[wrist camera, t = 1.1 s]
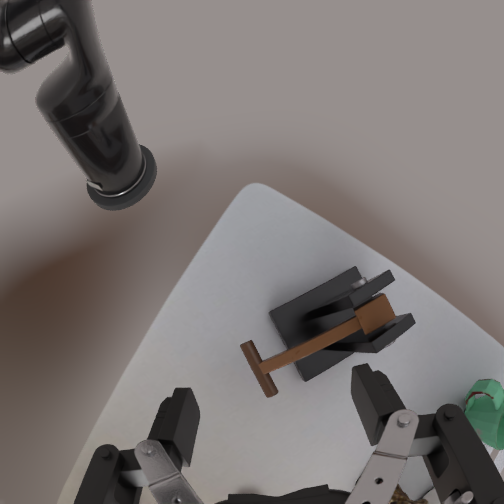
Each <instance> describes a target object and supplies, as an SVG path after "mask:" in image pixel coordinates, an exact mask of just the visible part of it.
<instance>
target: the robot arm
mask: <svg viewBox="0 0 504 504" xmlns="http://www.w3.org/2000/svg"><path fill="white" fill-rule="evenodd" d="M64 46H67V47H68V48H69V53H68V54H67V56H66V57H65V58H64V60H63V61H62V62H61V63H60V64H59V65H58V66H57V67H56V68H55V69H54V70H53V71H52V72H51V73H50V74H49V75H48V76H47V78H46V79H45V80H44V81H43V83H42V84H41V86H40V87H39V89H38V91H37V94H36V97H35V103H36V106H37V108H38V110H39V112H40V113H41V115H42V116H43V117H44V119H45V121H46V122H47V124H48V125H49V127H50V128H51V130H52V131H53V133H54V134H55V136H56V137H57V138H58V140H59V141H60V142H61V144H62V145H63V147H64V148H65V149H66V151H67V152H68V154H69V155H70V156H71V158H72V159H73V161H74V162H75V163H76V165H77V166H78V168H79V169H80V170H81V171H82V173H83V174H84V175H85V177H86V178H87V180H88V181H89V182H88V181H87V183H88V184H89V185H90V186H92V187H93V188H94V190H95V191H96V192H97V193H98V194H99V195H100V196H102V197H105V198H118V197H121V196H124V195H126V194H128V193H129V192H131V191H132V190H133V189H135V188H136V187H137V186H138V185H139V183H140V182H141V181H142V179H143V177H144V175H145V173H146V169H147V162H146V159H145V156H144V154H143V153H142V151H141V149H140V146H139V144H138V141H137V138H136V136H135V134H134V131H133V129H132V126H131V123H130V121H129V118H128V116H127V113H126V111H125V108H124V105H123V103H122V100H121V97H120V95H119V92H118V90H117V87H116V84H115V81H114V78H113V76H112V73H111V70H110V67H109V65H108V62H107V59H106V56H105V53H104V50H103V47H102V44H101V40H100V37H99V33H98V29H97V25H96V21H95V17H94V10H93V5H92V0H0V72H3V73H5V74H15V73H18V72H20V71H22V70H24V69H26V68H28V67H29V66H31V65H33V64H34V63H36V62H37V61H39V60H41V59H42V58H44V57H46V56H48V55H49V54H51V53H53V52H55V51H56V50H58V49H60V48H62V47H64ZM351 395H352V399H353V402H354V404H355V406H356V409H357V411H358V414H359V416H360V419H361V421H362V424H363V426H364V429H365V431H366V434H367V437H368V439H369V442H370V444H371V446H373V445H376V444H378V445H377V448H376V450H375V451H374V452H373V454H372V455H371V457H370V459H369V461H368V463H367V465H366V467H365V469H364V471H363V473H362V475H361V477H360V478H359V480H358V482H357V484H356V485H355V487H354V489H353V490H352V492H351V493H350V492H347V491H342V490H335V489H329V488H328V484H326V485H321V486H316V487H310V488H304V489H301V490H298V491H295V492H292V493H289V494H286V495H283V496H279V497H274V496H265V495H258V494H228V500H224V501H221V502H218V503H215V504H388V503H389V501H390V499H391V497H392V495H393V493H394V491H395V489H396V486H397V484H398V482H399V479H400V477H401V475H402V472H403V470H404V467H405V464H406V462H407V459H408V458H407V457H413V456H421V455H422V457H423V459H424V462H425V464H426V467H427V469H428V472H429V474H430V477H431V479H432V482H433V484H434V487H435V490H436V492H437V495H438V498H439V501H440V504H504V482H503V480H502V477H501V476H500V474H499V472H498V470H497V468H496V466H495V464H494V462H493V461H492V459H491V457H490V455H489V453H488V452H487V450H486V448H485V446H484V445H483V443H482V441H481V440H480V438H479V436H478V435H477V433H476V431H475V430H474V428H473V427H472V425H471V423H470V422H469V420H468V419H467V417H466V416H465V414H464V412H463V411H462V409H461V408H460V407H459V406H457V405H455V404H445V405H443V406H441V407H440V408H439V409H438V410H437V412H436V413H435V414H427V415H417V414H416V413H415V412H413V411H411V410H408V409H406V408H405V406H404V404H403V402H402V401H401V399H400V397H399V396H398V394H397V392H396V391H395V389H394V387H393V386H392V384H390V381H389V379H388V378H387V376H386V375H385V374H383V373H382V372H380V371H379V370H378V371H374V372H373V371H372V370H371V368H370V366H369V365H368V364H367V363H366V364H362V365H358V366H354V367H353V368H352V379H351ZM199 420H200V410H199V406H198V404H197V402H196V399H195V397H194V394H193V391H192V389H191V388H175V390H174V393H173V395H172V397H167V398H166V399H165V400H164V401H163V402H162V403H161V405H160V407H159V410H158V413H157V415H156V418H155V420H154V423H153V425H152V428H151V431H150V433H149V436H148V438H147V440H144V441H142V442H140V443H139V444H138V445H137V446H136V448H135V449H130V450H121V451H119V450H118V449H117V448H116V447H115V446H114V445H110V444H105V445H102V446H100V447H98V448H97V449H96V450H95V452H94V454H93V457H92V459H91V461H90V464H89V466H88V469H87V471H86V473H85V476H84V478H83V481H82V483H81V486H80V488H79V491H78V494H77V496H76V499H75V501H74V504H139V501H140V496H141V492H142V488H143V486H149V489H150V491H151V492H152V494H153V496H154V498H155V499H156V501H157V503H158V504H204V503H203V501H202V500H201V499H200V498H199V496H198V495H197V494H196V493H195V491H194V490H193V489H192V487H191V486H190V484H189V483H188V482H187V480H186V479H185V478H184V476H183V475H182V473H181V469H182V466H185V467H190V463H191V458H192V453H193V448H194V444H195V439H196V434H197V430H198V425H199Z"/></svg>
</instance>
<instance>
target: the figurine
mask: <svg viewBox="0 0 504 504" xmlns="http://www.w3.org/2000/svg"><path fill="white" fill-rule="evenodd" d="M360 477H361V476H360ZM360 477H359V478H360ZM358 480H359V479H358ZM358 480H357V482H358ZM357 482H356V484H357ZM388 504H428V500H426V499H420V500H418V501H416V502H415V501H413V500H410V499H409V498H408V496H407V494H406V493H404V492H403V491H402V489H401V488H400V486H399V484H397V486H396V489H395V491H394V493H393V495H392V497H391V499H390V501H389V503H388Z"/></svg>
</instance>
